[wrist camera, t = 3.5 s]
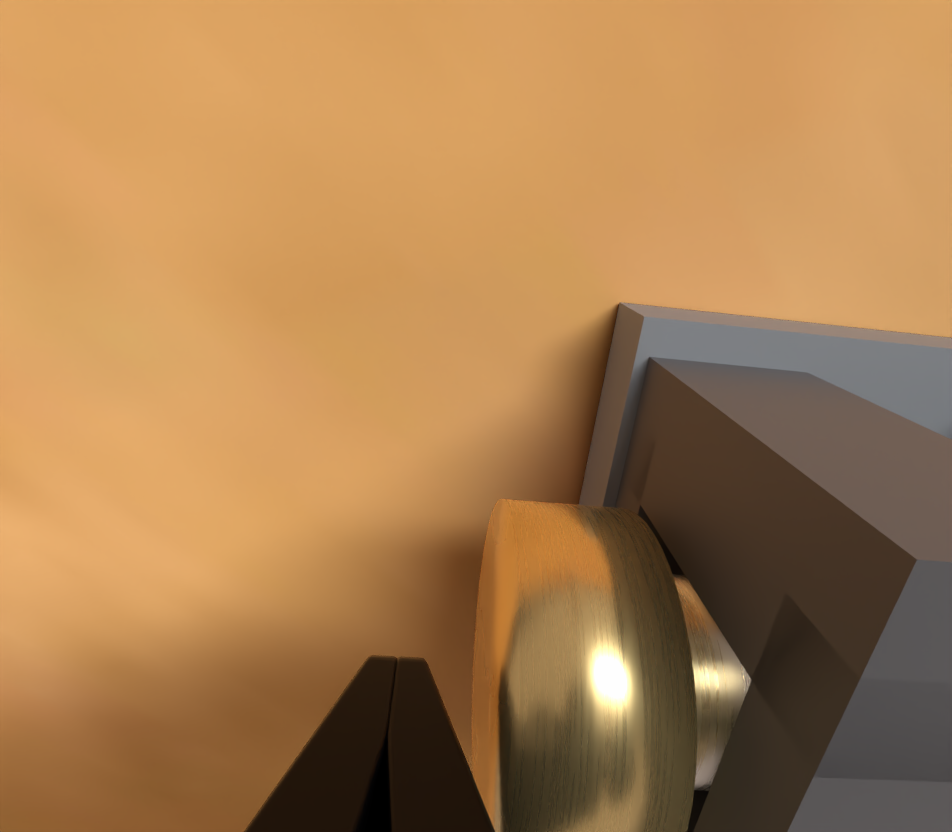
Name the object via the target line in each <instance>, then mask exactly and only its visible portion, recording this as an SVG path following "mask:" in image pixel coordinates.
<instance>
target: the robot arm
mask: <svg viewBox="0 0 952 832" xmlns="http://www.w3.org/2000/svg"><path fill="white" fill-rule="evenodd" d="M244 832H495V830H494V828H493V825H492V823H491V820H490V818H489V815H488V813H487V810H486V808H485V805H484V803H483V800H482V798H481V795H480V793H479V790H478V788H477V785H476V783H475V780H474V778H473V776H472V773H471V771H470V768H469V766H468V763H467V761H466V758H465V756H464V753H463V751H462V748H461V746H460V743H459V741H458V738H457V736H456V733H455V731H454V728H453V726H452V723H451V721H450V718H449V716H448V713H447V711H446V708H445V706H444V704H443V701H442V699H441V696H440V694H439V691H438V689H437V686H436V684H435V681H434V679H433V676H432V674H431V671H430V669H429V666H428V664H427V662H426V661H425V659H423V658H415V657H399V658H398V659H397V658H396V657H394V656H378V655H372V656H370V657H368V658H367V659H366V661H365V662H364V663H363V665H362V666H361V668H360V669H359V670H358V672H357V673H356V675H355V676H354V677H353V679H352V680H351V682H350V683H349V684H348V686H347V687H346V689H345V690H344V692H343V693H342V694H341V696H340V697H339V699H338V700H337V701H336V703H335V704H334V706H333V707H332V708H331V710H330V711H329V713H328V714H327V715H326V717H325V718H324V720H323V721H322V723H321V724H320V725H319V727H318V728H317V730H316V731H315V732H314V734H313V735H312V737H311V738H310V739H309V741H308V742H307V744H306V745H305V746H304V748H303V749H302V751H301V752H300V754H299V755H298V756H297V758H296V759H295V761H294V762H293V763H292V765H291V766H290V768H289V769H288V770H287V772H286V773H285V775H284V776H283V777H282V779H281V780H280V782H279V783H278V784H277V786H276V787H275V789H274V790H273V792H272V793H271V794H270V796H269V797H268V799H267V800H266V801H265V803H264V804H263V806H262V807H261V808H260V810H259V811H258V813H257V814H256V815H255V817H254V818H253V820H252V821H251V823H250V824H249V825H248V827H247V828H246V830H245V831H244Z"/></svg>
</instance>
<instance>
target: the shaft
mask: <svg viewBox="0 0 952 832" xmlns="http://www.w3.org/2000/svg"><path fill="white" fill-rule="evenodd" d="M750 683H751V678H750V677H749V675H748V674H747V672H746V670H745V669H744V667H743V666H742V664H741V662H740V661H739V659H738V658H737V656H736V655H735V653H734V651H733V650H732V648H731V647H730V645H729V644H728V642H727V640H726V639H725V637H724V636H723V634H722V633H721V631H720V629H719V628H718V626H717V625H716V623H715V621H714V620H713V618H712V617H711V615H710V614H709V612H708V610H707V609H706V607H705V606H704V604H703V603H702V601H701V599H700V598H699V596H698V595H697V593H696V592H695V590H694V588H693V587H692V585H691V584H690V582H689V580H688V579H687V577H686V576H685V575H673V574H672V572H671V569H670V566H669V564H668V561H667V559H666V557H665V554H664V552H663V549H662V547H661V546H660V544H659V542H658V540H657V538H656V536H655V535H654V533H653V532H652V530H651V529H650V527H649V526H648V525H647V523H646V522H645V521H644V520H643V519H642V518H641V517H640V516H639V515H638V514H636V513H635V512H633V511H631V510H629V509H624V508H614V507H601V506H588V505H575V504H562V503H548V502H535V501H522V500H509V499H500V500H498V501H497V503H496V504H495V506H494V509H493V511H492V514H491V517H490V521H489V525H488V529H487V534H486V539H485V545H484V551H483V558H482V565H481V573H480V581H479V590H478V601H477V612H476V625H475V640H474V658H473V683H472V776H473V778H474V780H475V783H476V785H477V788H478V790H479V793H480V795H481V798H482V800H483V803H484V805H485V808H486V810H487V813H488V815H489V818H490V820H491V823H492V825H493V828H494V830H495V832H687V829H688V825H689V820H690V814H691V809H692V804H693V796H694V790H703V791H709V790H710V787H711V784H712V782H713V779H714V777H715V774H716V771H717V769H718V766H719V764H720V761H721V758H722V756H723V753H724V751H725V748H726V745H727V743H728V740H729V738H730V735H731V732H732V730H733V727H734V724H735V722H736V719H737V717H738V714H739V711H740V709H741V706H742V704H743V701H744V698H745V696H746V693H747V691H748V688H749V685H750Z"/></svg>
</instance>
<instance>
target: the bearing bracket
mask: <svg viewBox="0 0 952 832" xmlns="http://www.w3.org/2000/svg"><path fill="white" fill-rule="evenodd" d="M579 505H588V506H601V507H614V508H624V509H629V510H631V511H633V512H635V513H636V514H638V515H639V516H640V517H641V518H642V519H643V520H644V521H645V522H646V523H647V525H648V526H649V527H650V529H651V530H652V532H653V533H654V535H655V536H656V538H657V540H658V542H659V544H660V546H661V547H662V549H663V552H664V554H665V557H666V559H667V561H668V564H669V566H670V569H671V572H672V574H673V575H685V576H686V577H687V579H688V580H689V582H690V584H691V585H692V587H693V588H694V590H695V592H696V593H697V595H698V596H699V598H700V599H701V601H702V603H703V604H704V606H705V607H706V609H707V610H708V612H709V614H710V615H711V617H712V618H713V620H714V621H715V623H716V625H717V626H718V628H719V629H720V631H721V633H722V634H723V636H724V637H725V639H726V640H727V642H728V644H729V645H730V647H731V648H732V650H733V651H734V653H735V655H736V656H737V658H738V659H739V661H740V662H741V664H742V666H743V667H744V669H745V670H746V672H747V674H748V675H749V677H750V678H751V683H750V685H749V688H748V691H747V693H746V696H745V698H744V701H743V704H742V706H741V709H740V711H739V714H738V717H737V719H736V722H735V724H734V727H733V730H732V732H731V735H730V738H729V740H728V743H727V745H726V748H725V751H724V753H723V756H722V758H721V761H720V764H719V766H718V769H717V771H716V774H715V777H714V779H713V782H712V784H711V787H710V790H709V791H703V790H694V796H693V804H692V809H691V814H690V820H689V825H688V829H687V832H952V338H948V337H939V336H930V335H920V334H911V333H902V332H892V331H883V330H873V329H864V328H855V327H845V326H836V325H826V324H817V323H808V322H798V321H789V320H780V319H770V318H761V317H751V316H742V315H733V314H723V313H714V312H705V311H695V310H686V309H676V308H667V307H658V306H648V305H639V304H629V303H619V308H618V313H617V318H616V323H615V328H614V333H613V338H612V342H611V347H610V352H609V357H608V362H607V367H606V372H605V377H604V382H603V387H602V392H601V397H600V402H599V407H598V411H597V416H596V421H595V426H594V431H593V436H592V441H591V446H590V451H589V456H588V461H587V466H586V471H585V476H584V480H583V485H582V490H581V495H580V500H579Z"/></svg>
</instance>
